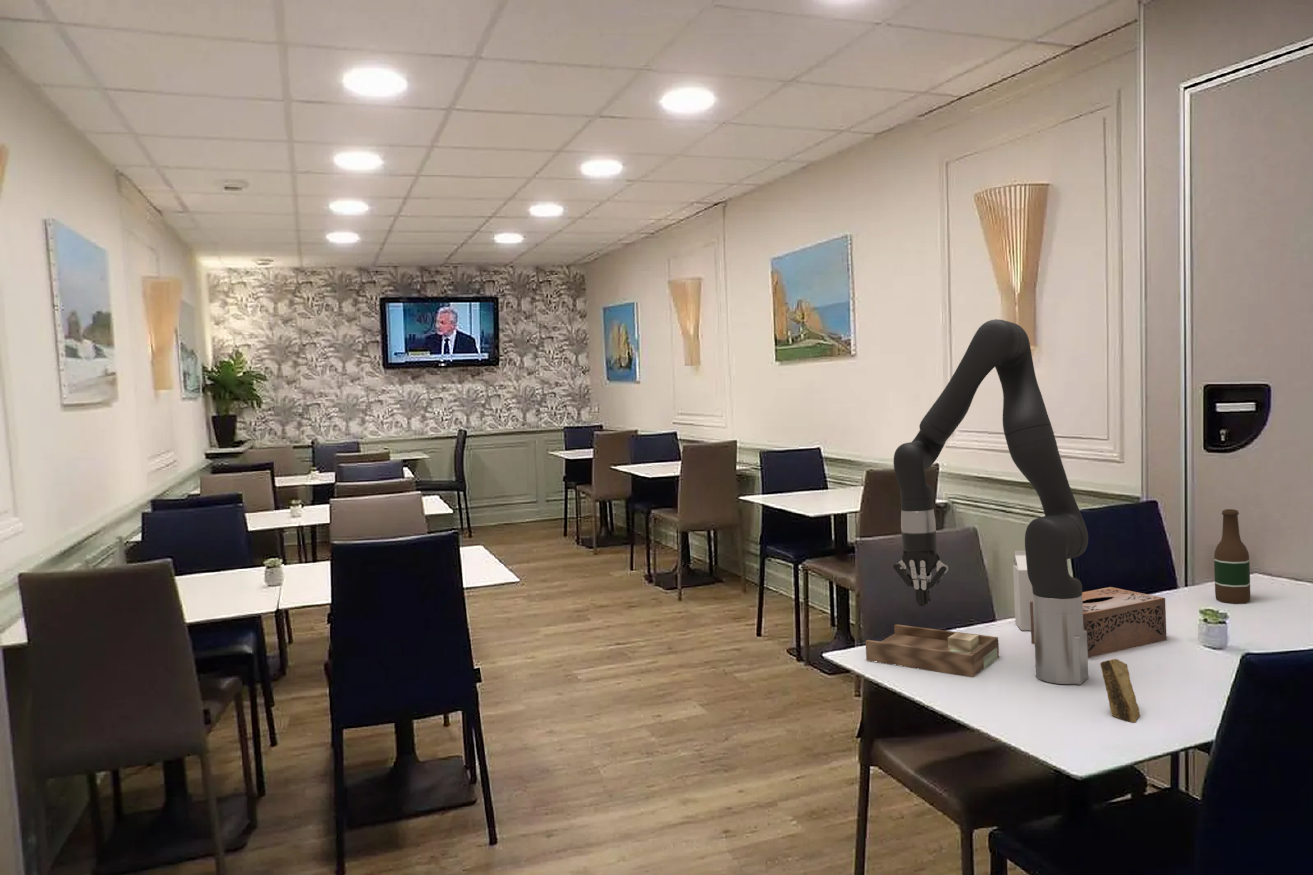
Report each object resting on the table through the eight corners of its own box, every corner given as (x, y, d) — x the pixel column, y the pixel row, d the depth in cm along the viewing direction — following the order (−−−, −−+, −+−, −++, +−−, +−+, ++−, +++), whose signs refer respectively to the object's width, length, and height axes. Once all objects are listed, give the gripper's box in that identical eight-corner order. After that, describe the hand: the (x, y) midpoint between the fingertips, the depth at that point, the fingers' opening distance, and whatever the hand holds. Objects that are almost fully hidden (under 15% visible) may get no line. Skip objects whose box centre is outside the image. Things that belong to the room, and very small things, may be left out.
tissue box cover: (1083, 660, 191) (1081, 614, 191) (1031, 644, 205) (1029, 602, 204) (1166, 641, 201) (1165, 597, 201) (1112, 627, 215) (1110, 587, 214)
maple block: (978, 646, 196) (978, 635, 196) (970, 652, 193) (970, 640, 192) (956, 643, 200) (956, 632, 199) (948, 648, 196) (947, 637, 196)
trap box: (998, 657, 196) (998, 637, 196) (972, 677, 184) (971, 655, 183) (896, 643, 211) (896, 624, 211) (866, 660, 199) (865, 640, 199)
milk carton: (1052, 631, 214) (1049, 553, 213) (1020, 631, 215) (1017, 553, 214) (1045, 623, 221) (1042, 547, 220) (1015, 623, 222) (1012, 548, 221)
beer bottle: (1208, 599, 234) (1205, 509, 233) (1230, 596, 237) (1227, 507, 236) (1235, 605, 227) (1232, 512, 226) (1258, 602, 229) (1255, 510, 228)
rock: (1111, 683, 169) (1077, 686, 164) (1139, 653, 164) (1104, 656, 160) (1153, 731, 161) (1118, 736, 156) (1183, 701, 157) (1148, 705, 152)
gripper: (953, 527, 199) (958, 604, 200) (897, 526, 208) (902, 599, 208) (940, 532, 194) (945, 611, 194) (884, 531, 202) (889, 606, 202)
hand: (923, 605), depth 201 cm, fingers closed
